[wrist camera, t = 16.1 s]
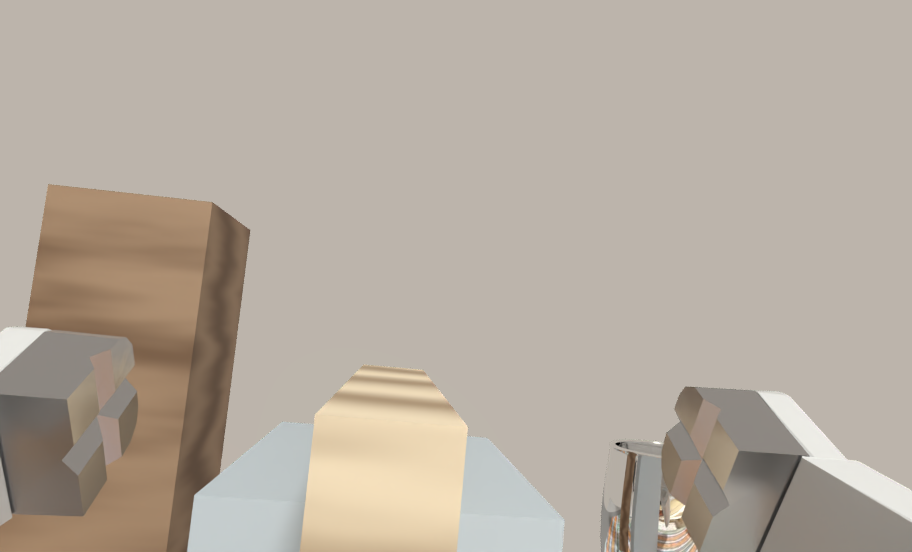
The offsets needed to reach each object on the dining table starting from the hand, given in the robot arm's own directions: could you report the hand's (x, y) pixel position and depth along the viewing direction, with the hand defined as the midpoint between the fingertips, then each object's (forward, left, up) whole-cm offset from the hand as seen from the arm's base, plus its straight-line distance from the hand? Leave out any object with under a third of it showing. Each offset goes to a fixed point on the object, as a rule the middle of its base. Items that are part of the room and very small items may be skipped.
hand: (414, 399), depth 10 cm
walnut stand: (-26, +17, -19) cm, 37 cm away
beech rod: (-7, +11, -4) cm, 14 cm away
